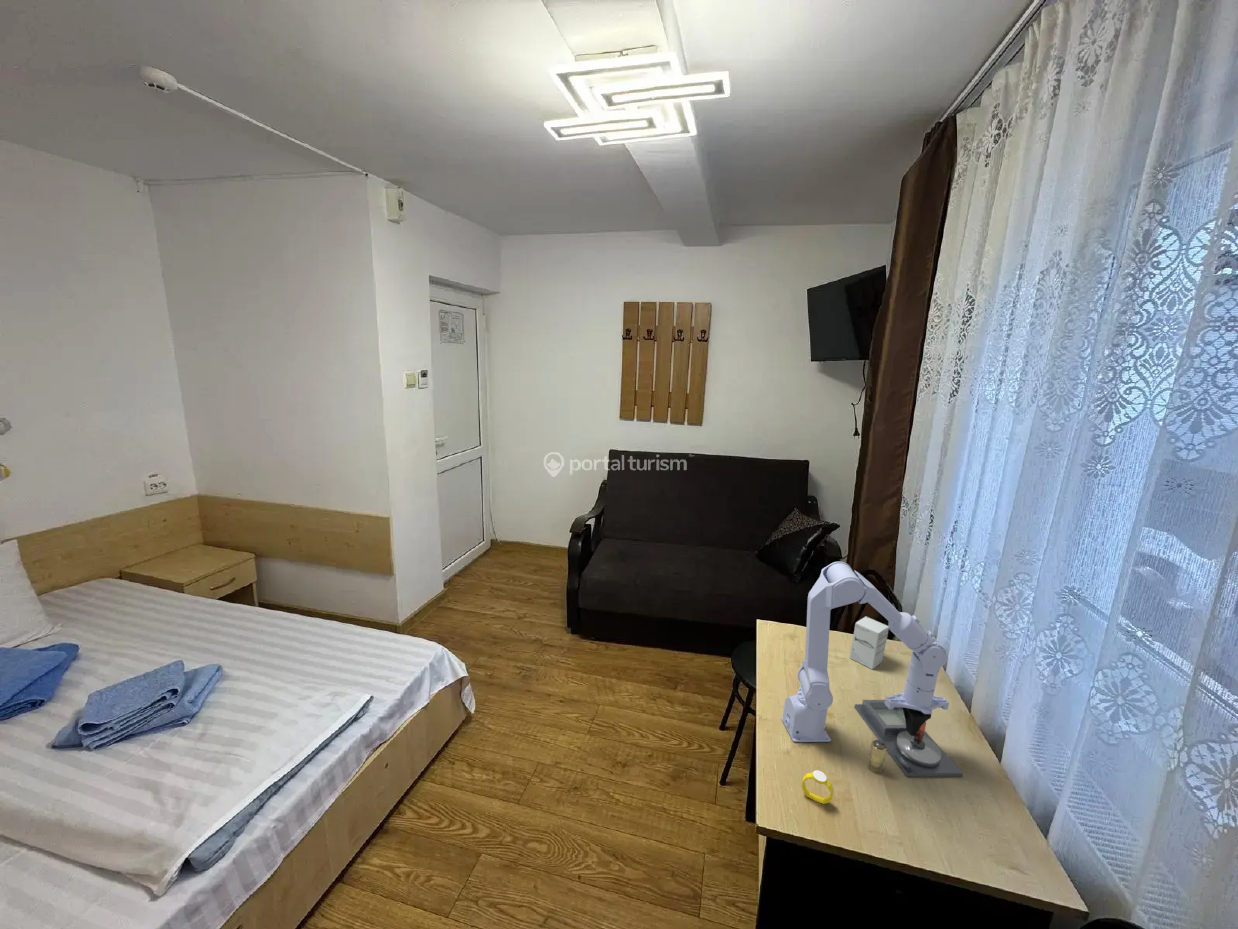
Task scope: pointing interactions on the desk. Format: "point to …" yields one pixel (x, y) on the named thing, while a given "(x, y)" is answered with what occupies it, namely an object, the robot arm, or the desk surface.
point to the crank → (919, 748)
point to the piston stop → (876, 756)
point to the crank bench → (886, 730)
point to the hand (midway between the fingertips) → (910, 732)
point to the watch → (820, 779)
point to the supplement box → (869, 642)
